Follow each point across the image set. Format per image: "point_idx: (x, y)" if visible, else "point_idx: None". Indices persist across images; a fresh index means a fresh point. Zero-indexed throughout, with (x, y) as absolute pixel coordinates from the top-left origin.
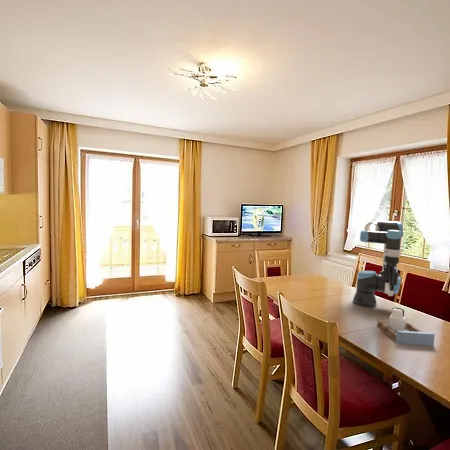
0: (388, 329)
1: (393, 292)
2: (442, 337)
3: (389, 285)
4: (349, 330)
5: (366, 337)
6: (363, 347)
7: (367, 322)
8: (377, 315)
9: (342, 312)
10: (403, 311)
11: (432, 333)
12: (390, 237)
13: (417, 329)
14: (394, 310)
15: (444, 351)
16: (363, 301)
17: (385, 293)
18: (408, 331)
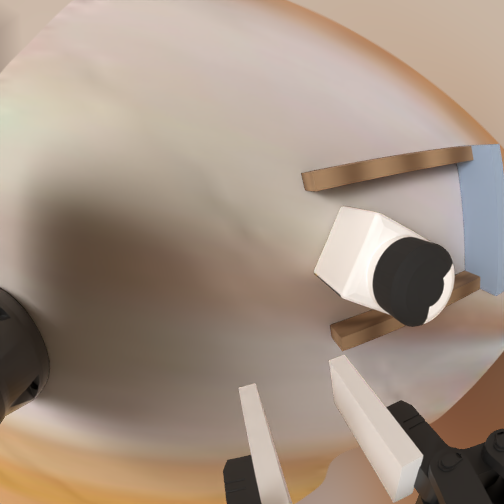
0: None
1: (363, 380)
2: (371, 51)
3: (408, 487)
4: None
5: (444, 371)
6: (485, 369)
7: (308, 377)
8: (163, 317)
9: (213, 457)
10: (449, 255)
11: (496, 148)
12: None
13: (408, 163)
14: (438, 313)
15: (483, 130)
16: (34, 378)
17: (267, 421)
18: (500, 251)
